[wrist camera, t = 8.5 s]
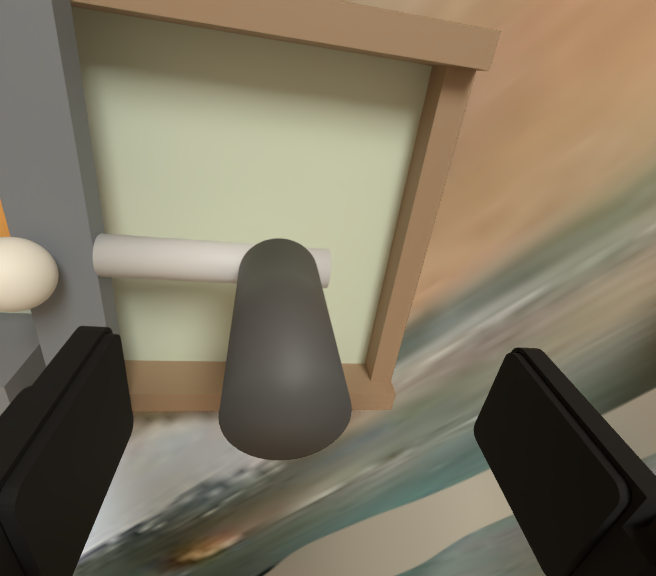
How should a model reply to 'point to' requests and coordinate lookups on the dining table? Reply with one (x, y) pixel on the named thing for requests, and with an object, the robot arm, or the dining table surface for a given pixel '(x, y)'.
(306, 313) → the kicker rod
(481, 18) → the dining table surface
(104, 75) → the foosball lane
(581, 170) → the dining table surface
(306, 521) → the dining table surface
